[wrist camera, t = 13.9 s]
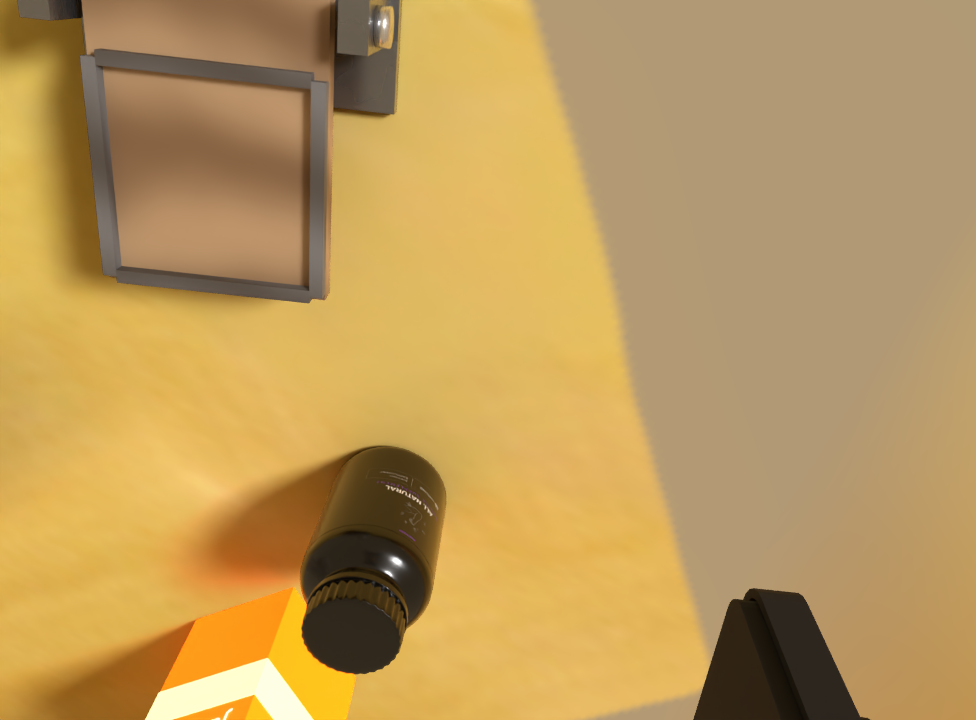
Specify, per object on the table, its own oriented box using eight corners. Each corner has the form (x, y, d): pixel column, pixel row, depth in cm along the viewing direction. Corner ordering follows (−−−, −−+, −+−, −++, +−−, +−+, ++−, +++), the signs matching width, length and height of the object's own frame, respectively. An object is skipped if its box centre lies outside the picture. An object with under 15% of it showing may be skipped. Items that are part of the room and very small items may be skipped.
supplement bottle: (447, 443, 46) (425, 585, 35) (447, 537, 49) (427, 695, 38) (329, 439, 46) (272, 579, 36) (336, 533, 49) (286, 689, 38)
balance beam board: (329, 292, 38) (322, 304, 36) (119, 269, 38) (103, 281, 36) (342, -351, 28) (333, -370, 26) (55, -385, 28) (30, -407, 26)
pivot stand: (400, 112, 38) (379, 135, 32) (92, 77, 38) (16, 95, 32) (410, -77, 35) (389, -88, 29) (71, -116, 34) (-19, -135, 29)
